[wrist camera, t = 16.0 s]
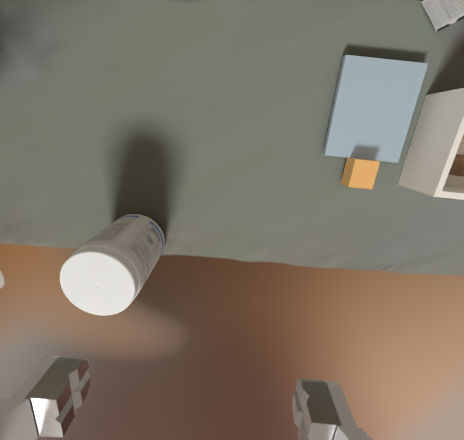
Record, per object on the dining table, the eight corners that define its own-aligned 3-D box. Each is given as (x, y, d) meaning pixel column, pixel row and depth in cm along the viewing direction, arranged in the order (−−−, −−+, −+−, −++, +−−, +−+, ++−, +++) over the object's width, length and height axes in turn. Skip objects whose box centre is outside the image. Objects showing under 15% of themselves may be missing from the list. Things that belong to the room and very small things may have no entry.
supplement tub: (107, 251, 46) (50, 303, 32) (118, 204, 43) (61, 238, 29) (159, 268, 47) (125, 326, 33) (173, 223, 44) (143, 265, 30)
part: (461, 153, 38) (478, 154, 35) (456, 173, 39) (472, 176, 36) (440, 153, 38) (455, 154, 36) (435, 173, 39) (449, 176, 37)
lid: (340, 58, 36) (352, 50, 32) (418, 66, 36) (439, 59, 32) (315, 179, 41) (323, 184, 38) (383, 186, 41) (397, 191, 38)
